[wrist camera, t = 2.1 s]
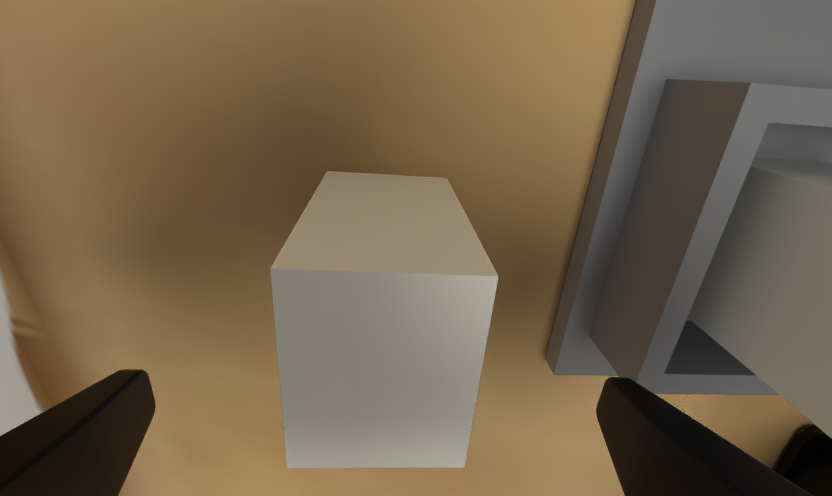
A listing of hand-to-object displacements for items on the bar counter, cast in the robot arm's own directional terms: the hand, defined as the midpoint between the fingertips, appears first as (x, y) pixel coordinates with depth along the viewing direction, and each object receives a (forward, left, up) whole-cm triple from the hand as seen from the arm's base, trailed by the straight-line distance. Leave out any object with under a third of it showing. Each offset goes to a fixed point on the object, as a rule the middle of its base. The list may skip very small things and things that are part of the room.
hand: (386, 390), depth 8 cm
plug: (0, 0, -7) cm, 7 cm away
